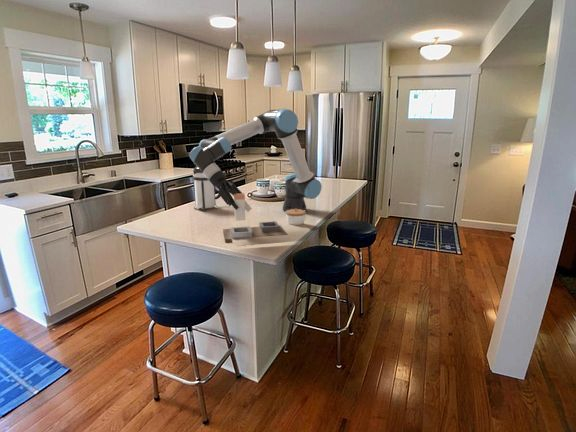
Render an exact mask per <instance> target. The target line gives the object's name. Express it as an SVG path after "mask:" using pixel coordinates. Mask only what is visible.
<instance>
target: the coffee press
mask: <svg viewBox="0 0 576 432" xmlns="http://www.w3.org/2000/svg"><path fill="white" fill-rule="evenodd" d="M192 172H193V173H192V177H193V186H194V198H195V200H194V201H195V205H194V207H193V209H194V210H196V209H202V212H206V209H212V208H213V209H215V210H217V209H219V207H218V206H217V204H216V201H217V200H218V199H219V198H221V196H220V195H219V194H217V195H216V191H215V190H214V188H215V187H216V186H213V185H212V183H211V182H210V181H209V179H207V177H205V175H204V174H203V173H202V171H201V170H200V169H199V168H198V167H197V166H195V167H193V170H192Z"/></svg>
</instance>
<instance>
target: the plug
mask: <svg viewBox="0 0 576 432" xmlns="http://www.w3.org/2000/svg"><path fill="white" fill-rule="evenodd" d="M233 199H234V201H236V202H237V203H238V204H239V205H240V206H241V207H242V209H243V210H244V211H245V212H244V213H243V214H242V215H240V214H239V213H238V212H237V211H236V210H235V208H234V207H233V210H234V220H235V222H236V221H237V222H238V221H246V209H245V201H246V200H245V199H246V197H245V193H243V192H242V193H236V194H234V196H233Z"/></svg>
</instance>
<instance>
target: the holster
mask: <svg viewBox="0 0 576 432" xmlns="http://www.w3.org/2000/svg"><path fill="white" fill-rule="evenodd" d="M258 224H259V226H258V227H260V229H261V231H262V232H273V231H280V226H279V225H280V224H279V223H278V222H277V221H276V220H274V221H260V222H259V223H258Z"/></svg>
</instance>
